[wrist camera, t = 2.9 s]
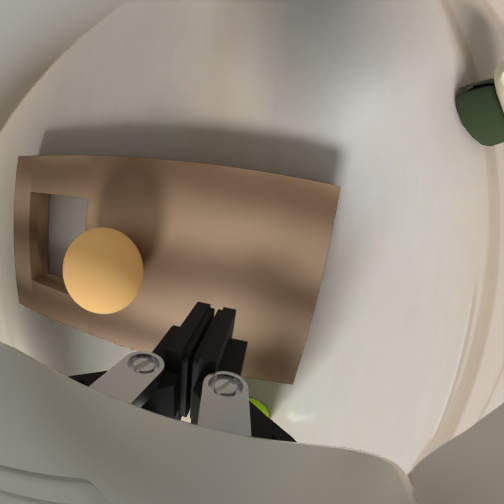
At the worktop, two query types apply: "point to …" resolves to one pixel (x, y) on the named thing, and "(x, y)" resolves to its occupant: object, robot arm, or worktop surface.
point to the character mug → (484, 109)
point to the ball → (103, 270)
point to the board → (186, 249)
